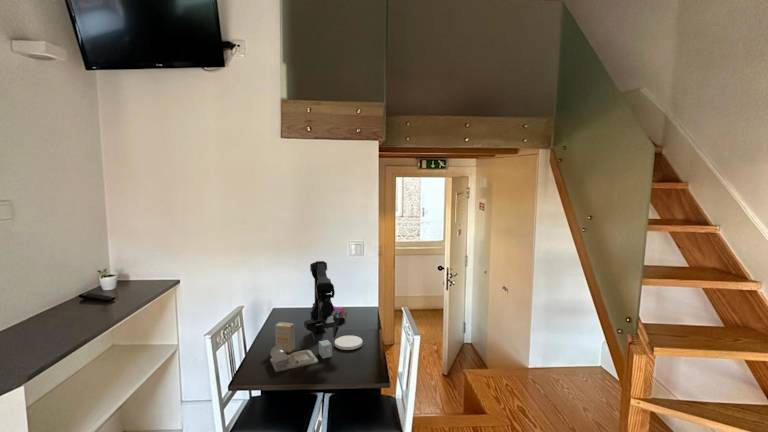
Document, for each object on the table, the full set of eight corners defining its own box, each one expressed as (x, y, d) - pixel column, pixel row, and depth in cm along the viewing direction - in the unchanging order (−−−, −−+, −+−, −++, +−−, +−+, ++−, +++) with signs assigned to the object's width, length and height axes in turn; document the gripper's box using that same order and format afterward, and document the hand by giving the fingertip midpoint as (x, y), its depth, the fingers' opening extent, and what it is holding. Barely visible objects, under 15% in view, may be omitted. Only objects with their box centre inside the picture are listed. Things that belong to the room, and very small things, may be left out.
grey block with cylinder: (327, 351, 186) (327, 339, 185) (333, 358, 178) (333, 345, 178) (318, 353, 183) (318, 341, 183) (324, 360, 176) (324, 347, 176)
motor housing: (310, 352, 185) (310, 338, 184) (318, 362, 174) (317, 347, 173) (270, 360, 176) (269, 346, 175) (275, 372, 165) (275, 356, 165)
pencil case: (309, 319, 229) (308, 305, 229) (318, 314, 238) (318, 300, 237) (339, 325, 220) (339, 310, 219) (348, 320, 228) (348, 305, 227)
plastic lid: (362, 340, 200) (362, 335, 200) (361, 351, 186) (361, 346, 186) (336, 340, 200) (336, 335, 199) (333, 352, 186) (333, 347, 185)
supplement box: (295, 349, 188) (294, 323, 187) (290, 353, 184) (289, 326, 182) (281, 346, 191) (280, 321, 190) (275, 350, 186) (274, 324, 185)
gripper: (310, 316, 169) (310, 350, 170) (349, 309, 177) (349, 342, 178) (303, 308, 178) (304, 341, 180) (340, 303, 187) (341, 333, 188)
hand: (325, 339), depth 181 cm, fingers open, 9 cm apart
